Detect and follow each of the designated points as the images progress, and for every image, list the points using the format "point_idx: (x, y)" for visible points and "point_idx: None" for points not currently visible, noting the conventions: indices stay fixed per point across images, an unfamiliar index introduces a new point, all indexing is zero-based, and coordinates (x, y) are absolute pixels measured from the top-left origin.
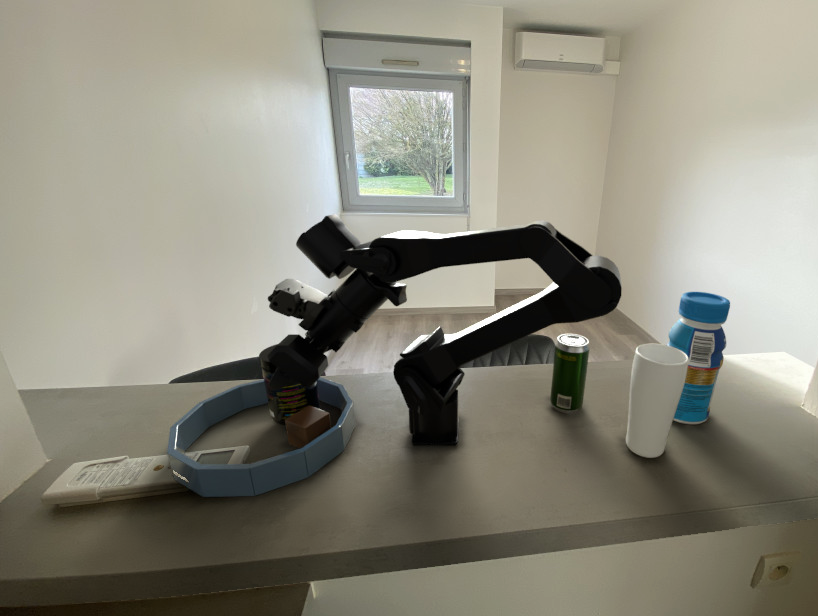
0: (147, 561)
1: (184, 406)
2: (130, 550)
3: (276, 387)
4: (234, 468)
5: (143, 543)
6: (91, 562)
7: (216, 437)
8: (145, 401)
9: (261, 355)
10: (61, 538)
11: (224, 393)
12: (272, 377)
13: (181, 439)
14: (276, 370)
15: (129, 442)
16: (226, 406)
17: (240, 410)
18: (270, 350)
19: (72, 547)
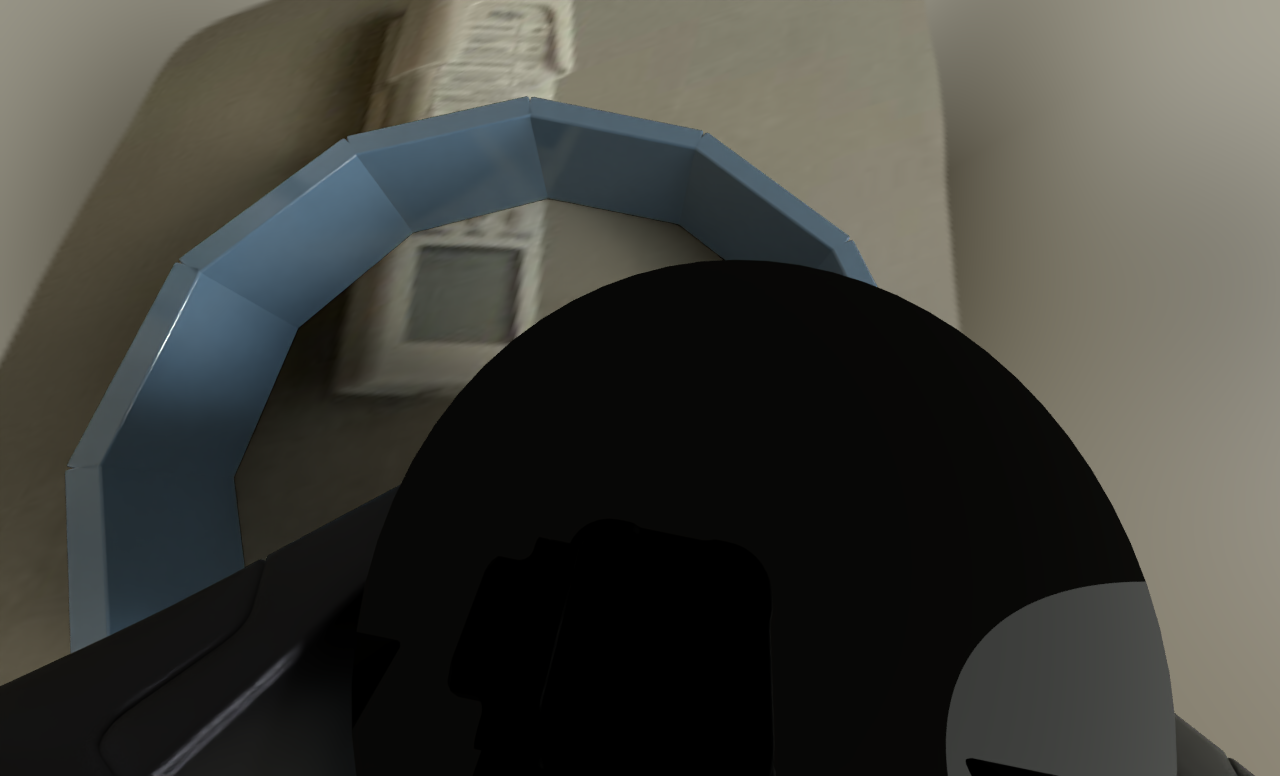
0: (68, 266)
1: (825, 119)
2: (136, 215)
3: None
4: (102, 404)
5: (147, 235)
6: (138, 153)
7: (608, 265)
8: (867, 14)
9: (675, 293)
10: (263, 68)
11: (771, 202)
12: (385, 494)
13: (540, 164)
14: (229, 580)
15: (638, 53)
16: (748, 241)
17: None
18: (826, 370)
19: (217, 99)
